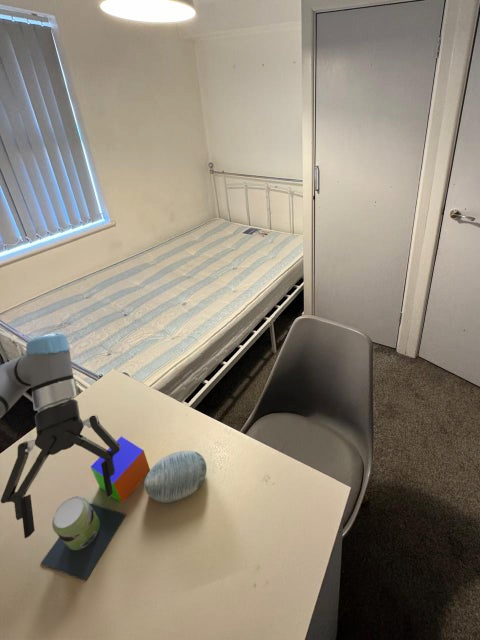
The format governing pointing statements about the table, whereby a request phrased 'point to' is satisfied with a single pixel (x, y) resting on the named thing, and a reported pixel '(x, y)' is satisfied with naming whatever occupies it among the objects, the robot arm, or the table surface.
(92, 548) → the pad
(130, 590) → the table surface
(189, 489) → the grey yarn skein
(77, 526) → the beverage can
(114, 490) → the cube
